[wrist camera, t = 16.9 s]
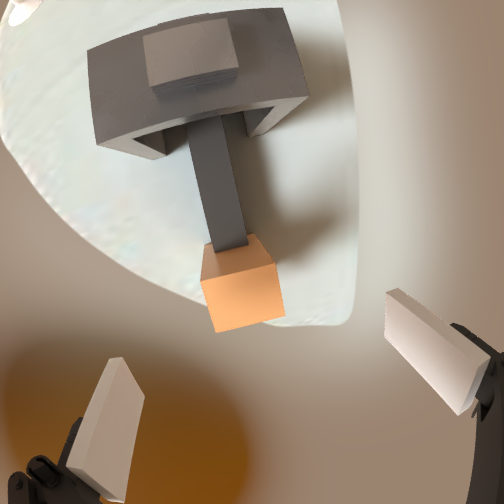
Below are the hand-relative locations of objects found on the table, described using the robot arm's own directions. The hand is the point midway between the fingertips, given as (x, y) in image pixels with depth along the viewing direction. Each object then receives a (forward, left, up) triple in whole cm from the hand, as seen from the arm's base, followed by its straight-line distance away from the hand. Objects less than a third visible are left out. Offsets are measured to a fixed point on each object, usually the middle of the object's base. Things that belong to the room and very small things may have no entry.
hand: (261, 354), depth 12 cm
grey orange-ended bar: (-5, -7, -16) cm, 18 cm away
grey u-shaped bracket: (-8, -12, -17) cm, 22 cm away
